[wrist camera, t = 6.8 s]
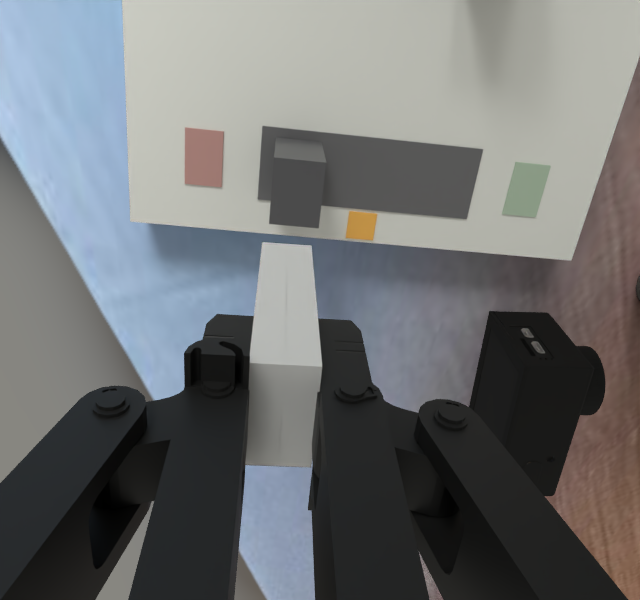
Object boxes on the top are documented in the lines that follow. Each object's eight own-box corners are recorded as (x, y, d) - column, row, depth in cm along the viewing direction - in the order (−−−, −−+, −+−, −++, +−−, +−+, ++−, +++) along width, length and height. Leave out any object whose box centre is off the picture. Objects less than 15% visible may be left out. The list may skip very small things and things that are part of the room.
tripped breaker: (275, 137, 30) (274, 157, 26) (321, 141, 30) (326, 162, 27) (271, 196, 32) (269, 224, 28) (315, 200, 32) (318, 228, 28)
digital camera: (532, 430, 45) (571, 498, 39) (464, 429, 45) (492, 498, 38) (565, 312, 40) (616, 369, 34) (489, 310, 40) (526, 367, 34)
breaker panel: (130, -219, 26) (112, -245, 24) (669, -135, 29) (709, -149, 26) (142, 204, 35) (130, 222, 33) (551, 242, 38) (572, 261, 35)
